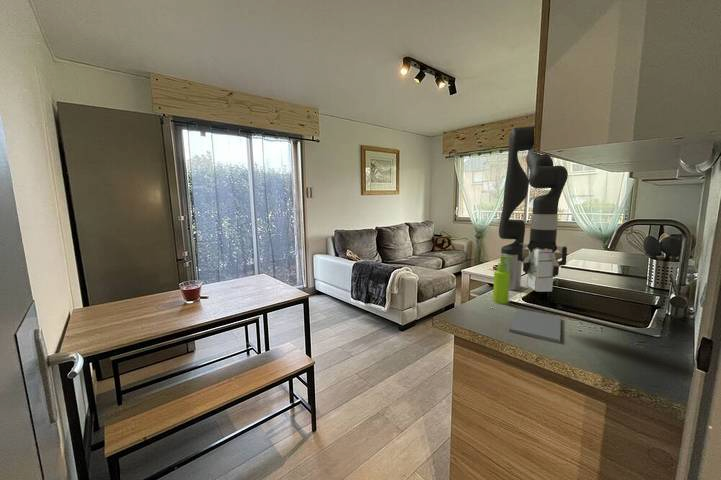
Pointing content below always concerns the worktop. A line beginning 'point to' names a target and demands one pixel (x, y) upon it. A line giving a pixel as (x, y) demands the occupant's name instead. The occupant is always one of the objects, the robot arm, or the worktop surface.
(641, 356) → the worktop surface
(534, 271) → the syrup box
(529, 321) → the slate mat
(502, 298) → the soap dispenser
